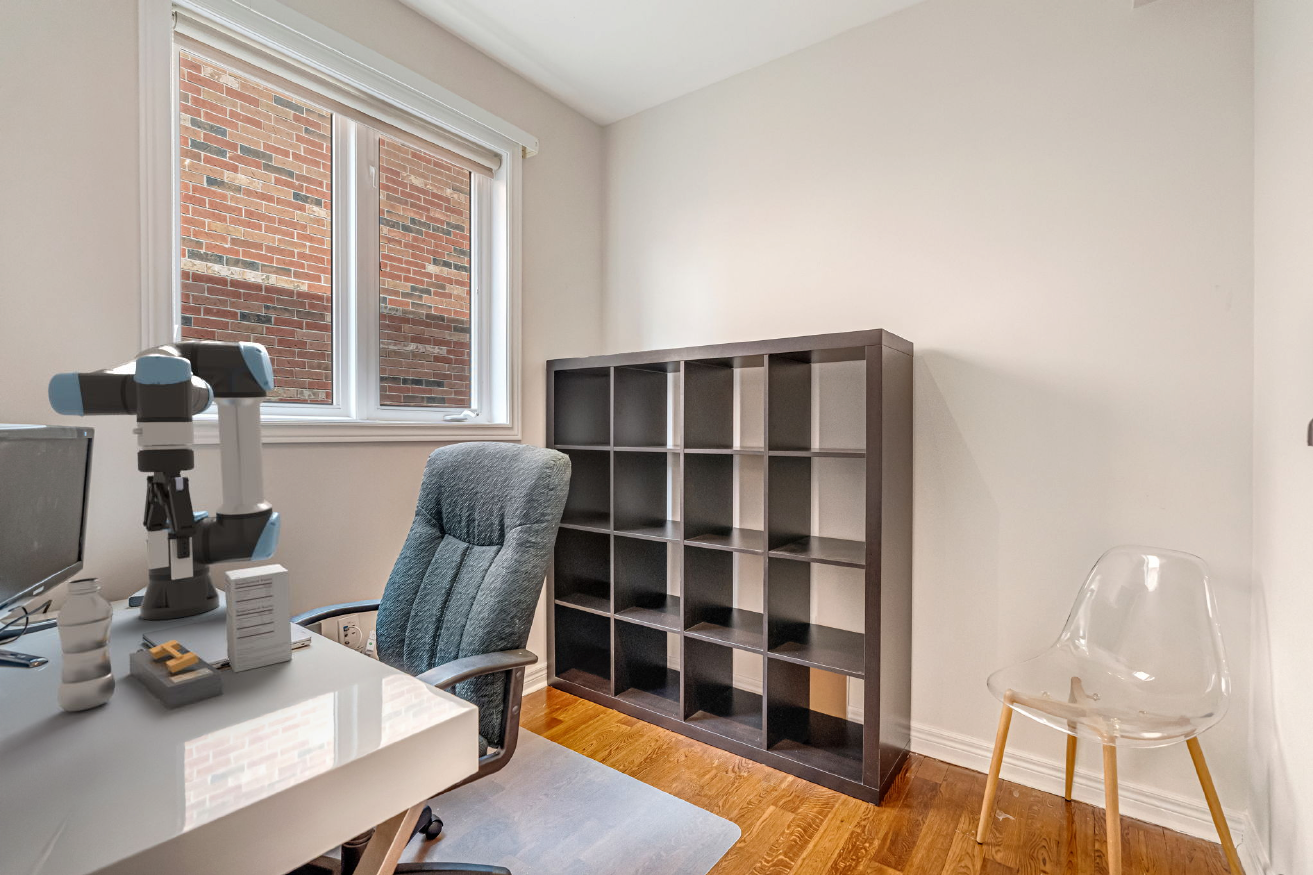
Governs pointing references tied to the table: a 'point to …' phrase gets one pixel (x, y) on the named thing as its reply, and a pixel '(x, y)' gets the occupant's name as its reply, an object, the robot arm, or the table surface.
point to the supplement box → (258, 617)
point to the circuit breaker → (175, 679)
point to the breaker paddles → (179, 660)
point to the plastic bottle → (85, 647)
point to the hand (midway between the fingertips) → (170, 572)
